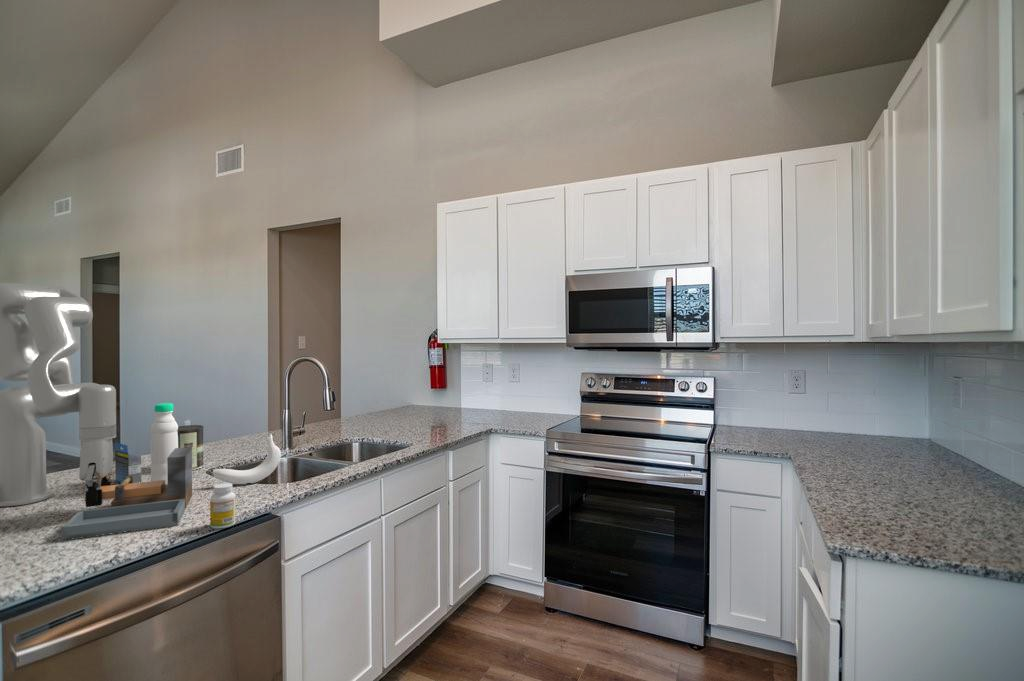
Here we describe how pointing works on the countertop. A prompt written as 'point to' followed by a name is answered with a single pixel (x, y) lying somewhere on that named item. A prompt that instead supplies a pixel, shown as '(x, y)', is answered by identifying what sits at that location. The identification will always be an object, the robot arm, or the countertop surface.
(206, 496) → the countertop surface
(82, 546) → the countertop surface
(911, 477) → the countertop surface
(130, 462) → the label tape cartridge
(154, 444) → the water bottle
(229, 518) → the supplement bottle
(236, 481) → the banana
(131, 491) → the orange rectangular block
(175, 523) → the tray
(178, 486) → the dispenser
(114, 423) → the robot arm
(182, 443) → the coffee can
